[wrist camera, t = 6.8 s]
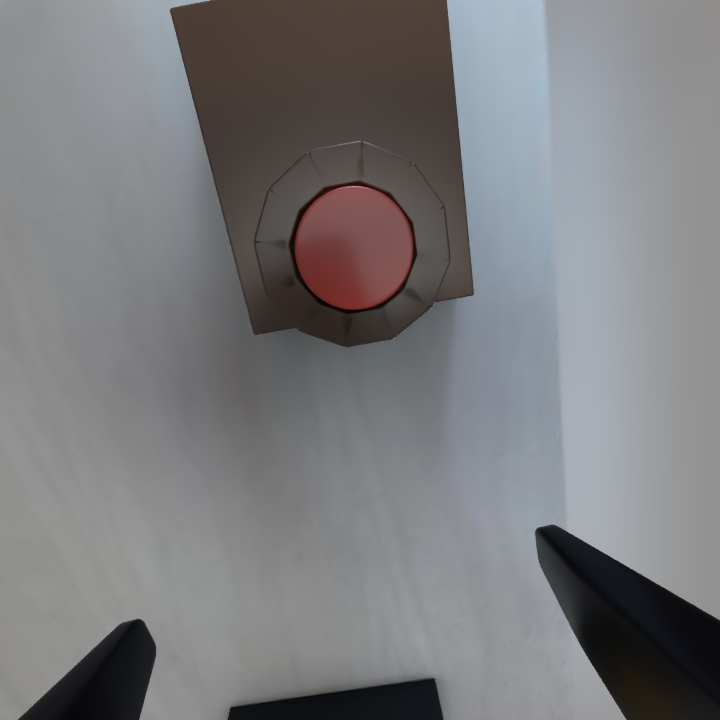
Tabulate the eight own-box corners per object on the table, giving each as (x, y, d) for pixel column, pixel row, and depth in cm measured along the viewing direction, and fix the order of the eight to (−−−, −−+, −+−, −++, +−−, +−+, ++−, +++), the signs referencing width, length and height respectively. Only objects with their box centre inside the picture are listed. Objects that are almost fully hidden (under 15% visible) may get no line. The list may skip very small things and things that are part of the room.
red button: (411, 293, 13) (421, 298, 12) (313, 311, 13) (308, 319, 12) (396, 186, 12) (404, 174, 11) (290, 205, 12) (282, 197, 11)
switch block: (460, 306, 17) (493, 321, 13) (269, 341, 17) (247, 365, 14) (428, -1, 14) (459, -97, 10) (194, 44, 14) (138, -35, 10)
